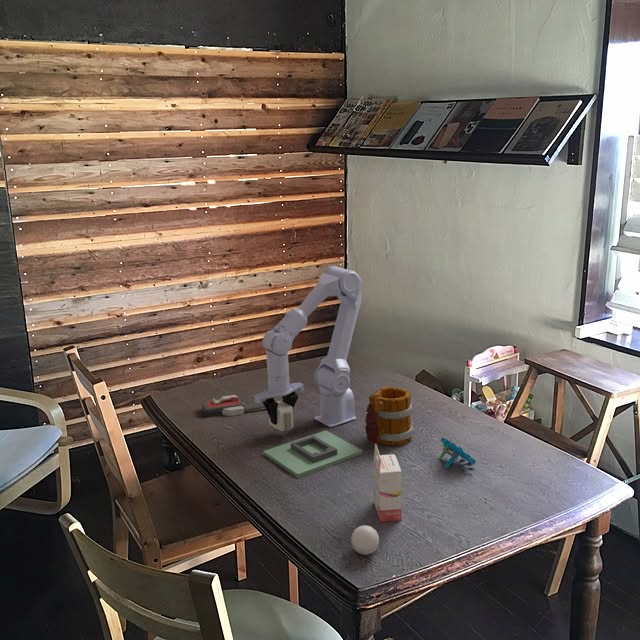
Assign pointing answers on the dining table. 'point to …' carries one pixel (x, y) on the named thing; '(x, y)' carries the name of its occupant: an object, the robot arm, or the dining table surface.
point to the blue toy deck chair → (454, 452)
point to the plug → (283, 417)
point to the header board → (312, 453)
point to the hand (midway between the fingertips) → (281, 420)
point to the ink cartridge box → (387, 486)
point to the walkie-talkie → (226, 406)
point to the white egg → (365, 540)
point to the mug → (389, 417)
